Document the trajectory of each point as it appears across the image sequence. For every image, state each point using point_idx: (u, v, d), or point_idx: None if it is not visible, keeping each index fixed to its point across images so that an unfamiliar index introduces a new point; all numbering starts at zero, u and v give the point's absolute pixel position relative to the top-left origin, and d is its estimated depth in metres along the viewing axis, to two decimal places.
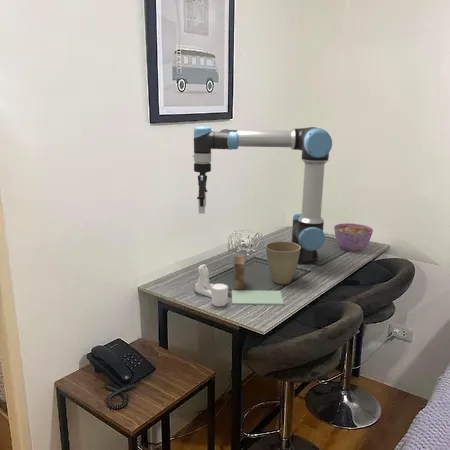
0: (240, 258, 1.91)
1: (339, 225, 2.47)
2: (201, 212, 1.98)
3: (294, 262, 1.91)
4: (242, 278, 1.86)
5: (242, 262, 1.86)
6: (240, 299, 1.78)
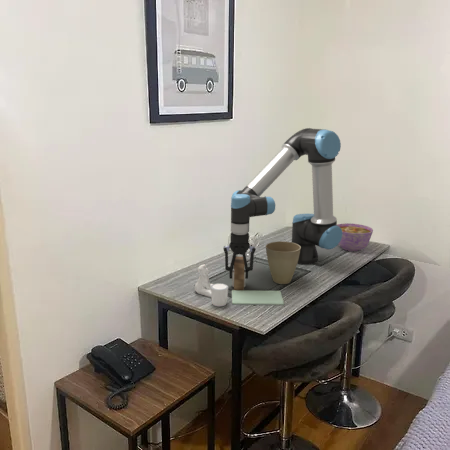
0: (240, 258, 1.91)
1: (339, 225, 2.47)
2: (232, 284, 1.92)
3: (294, 262, 1.91)
4: (242, 278, 1.86)
5: (242, 262, 1.86)
6: (240, 299, 1.78)
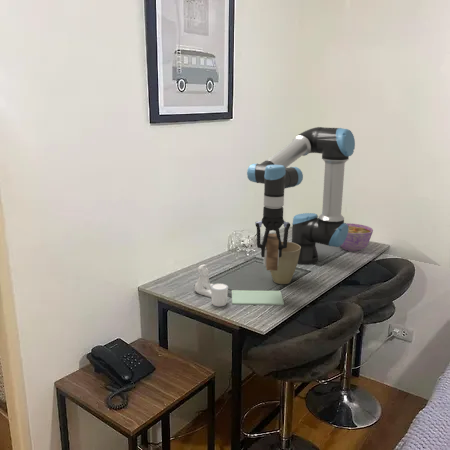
0: (273, 235, 1.76)
1: None
2: None
3: (294, 262, 1.91)
4: (276, 256, 1.72)
5: (276, 239, 1.72)
6: (240, 299, 1.78)
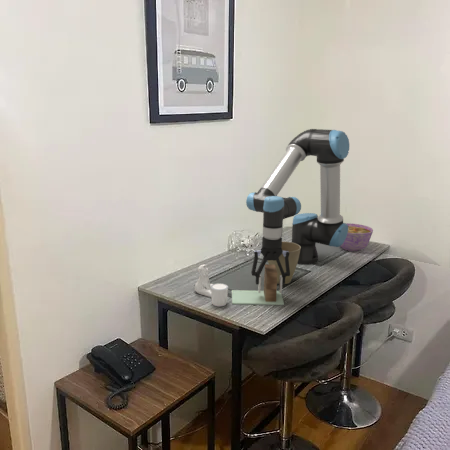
0: (271, 266, 1.80)
1: None
2: (258, 290, 1.80)
3: (294, 262, 1.91)
4: (274, 288, 1.75)
5: (274, 271, 1.75)
6: (240, 299, 1.78)
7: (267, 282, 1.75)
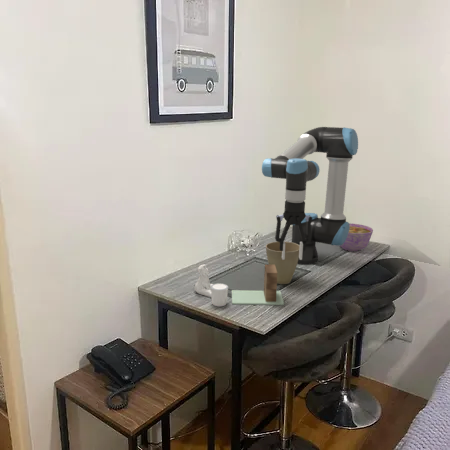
0: (271, 266, 1.80)
1: None
2: (282, 257, 1.77)
3: (294, 262, 1.91)
4: (274, 288, 1.75)
5: (274, 271, 1.75)
6: (240, 299, 1.78)
7: (267, 282, 1.75)
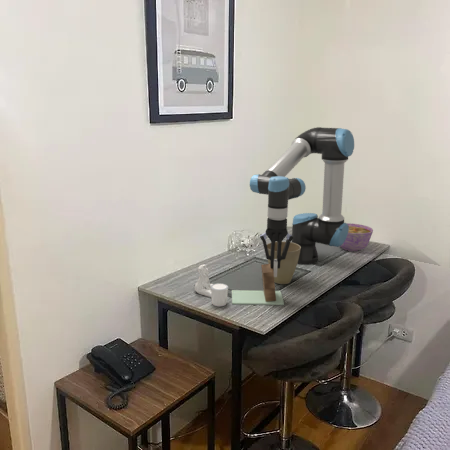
0: (268, 266, 1.80)
1: None
2: None
3: (294, 262, 1.91)
4: (273, 287, 1.75)
5: (271, 270, 1.75)
6: (240, 299, 1.78)
7: (264, 282, 1.75)
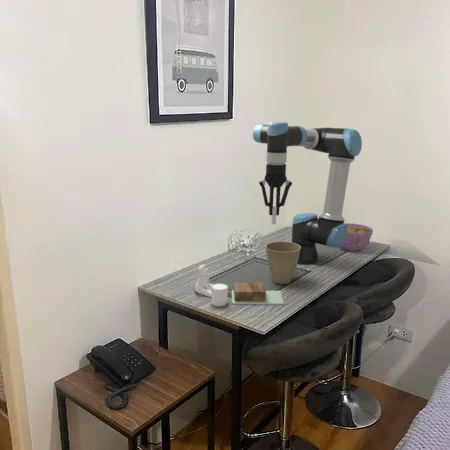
0: (234, 288, 1.82)
1: None
2: (271, 221, 1.79)
3: (294, 262, 1.91)
4: (251, 293, 1.76)
5: (234, 291, 1.77)
6: None
7: (245, 300, 1.77)
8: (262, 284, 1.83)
